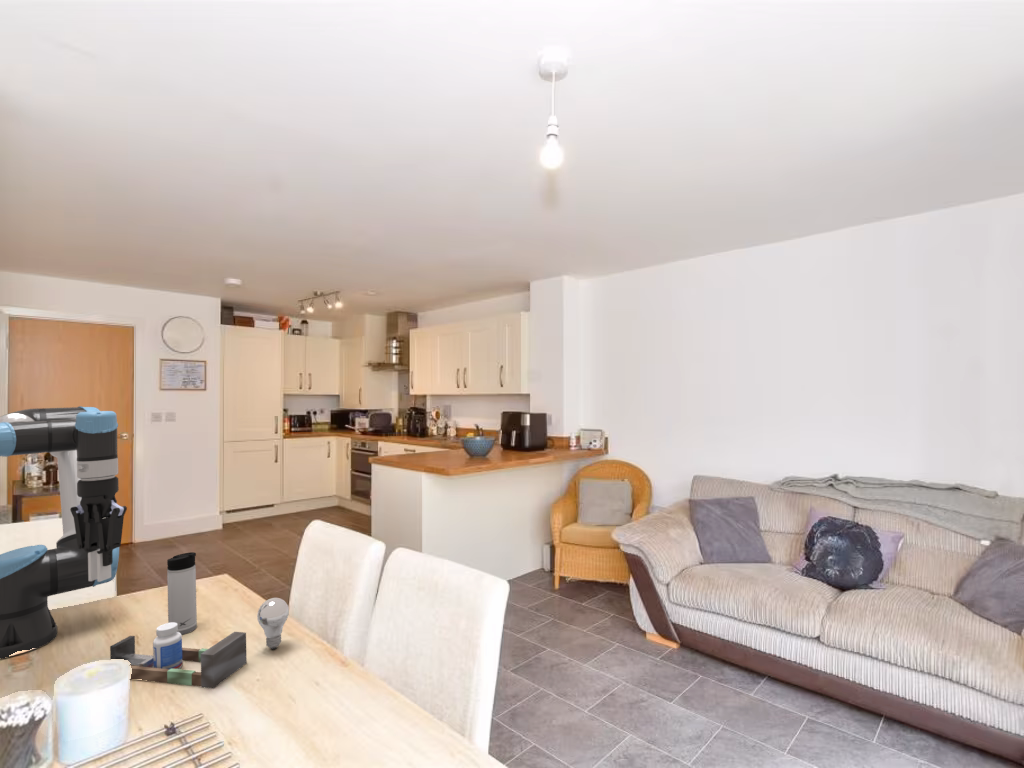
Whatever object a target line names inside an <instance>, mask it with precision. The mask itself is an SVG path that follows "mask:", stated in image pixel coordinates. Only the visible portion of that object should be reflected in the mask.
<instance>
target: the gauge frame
mask: <svg viewBox="0 0 1024 768" xmlns="http://www.w3.org/2000/svg"><path fill="white" fill-rule="evenodd" d="M182 659H183V662H186V661H187V662H195V663H200V671H196V670H191V669H184V668H183V669H182V668H180V669H172V668H171V669H161V668H154V667H152V668H150V667H140V666H137V665H130V666H131V668H132V674H131V679H130V680H132V679H142V680H147V681H146V682H151V681H155V682H154V683H160V684H161V683H163V684H172V685H181V686H191V687H192V686H193V687H201V688H204V687H205V688H206V689H215V688H216V687H217V686H219V685H220V684H222V683H223V682H224V681H225V680H227V679H228V678H230V677H231V676H232V675H233V674H235V673H236V672H237V671H238V670H240V669H241V668H242V667H244V666H245V665H246V664H247V663H248V662H247V660H248V659H247V632H245V631H244V632H243V631H234V632H231V633H230V634H229V635H227V636H226V637H223V639H221V640H220V641H218V642H217V643H215V644H213V645H212V646H211V647H209V648H191V647H190V648H189V647H188V648H187V647H182ZM243 665H244V666H243ZM239 668H240V669H239ZM230 675H231V676H230ZM205 688H204V689H205Z"/></svg>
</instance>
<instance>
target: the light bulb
mask: <svg viewBox="0 0 1024 768" xmlns="http://www.w3.org/2000/svg"><path fill="white" fill-rule="evenodd" d="M289 613H290V608H289V605H288V604H287V602H286V601H285V600H284V599H283V598H279V597H271V598H269V599H267V600H265V601H264V602H263V603H262V604H261V605H260V606H259V608H258V610H257V614H256V618H257V622H258V624H259V626H260V627H261V628H262V630H263V631H264V635H265V637H266V639H265V640H266V641H265V644H266V647H267V648H269V649H271V650H276V649H277V648H278V647H279V646H280V644H281V643H282V633H283V627H284V625H285V624H286V621H287V619H288V617H289Z"/></svg>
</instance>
